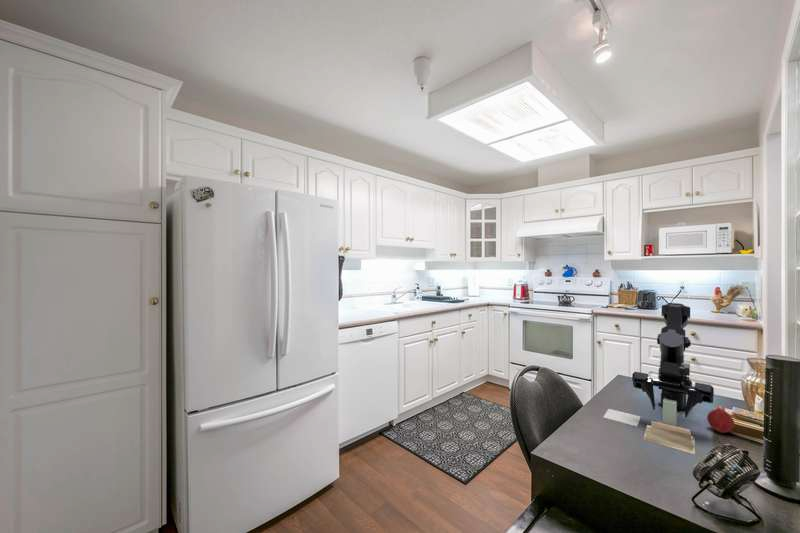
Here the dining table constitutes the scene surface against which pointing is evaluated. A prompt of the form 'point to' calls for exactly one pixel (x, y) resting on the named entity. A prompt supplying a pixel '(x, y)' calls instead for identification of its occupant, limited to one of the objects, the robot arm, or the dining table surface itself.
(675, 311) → the robot arm
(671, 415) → the pale green rectangular block
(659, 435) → the offcut rack
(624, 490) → the dining table surface
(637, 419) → the mat
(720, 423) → the onion
